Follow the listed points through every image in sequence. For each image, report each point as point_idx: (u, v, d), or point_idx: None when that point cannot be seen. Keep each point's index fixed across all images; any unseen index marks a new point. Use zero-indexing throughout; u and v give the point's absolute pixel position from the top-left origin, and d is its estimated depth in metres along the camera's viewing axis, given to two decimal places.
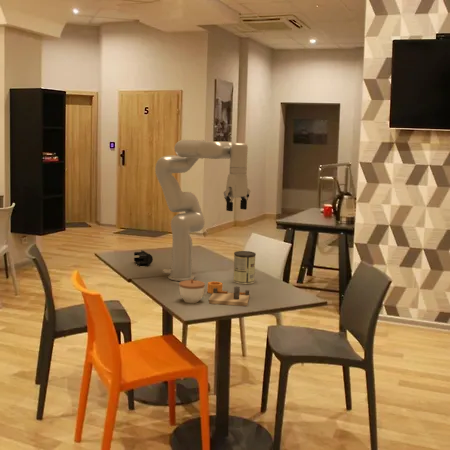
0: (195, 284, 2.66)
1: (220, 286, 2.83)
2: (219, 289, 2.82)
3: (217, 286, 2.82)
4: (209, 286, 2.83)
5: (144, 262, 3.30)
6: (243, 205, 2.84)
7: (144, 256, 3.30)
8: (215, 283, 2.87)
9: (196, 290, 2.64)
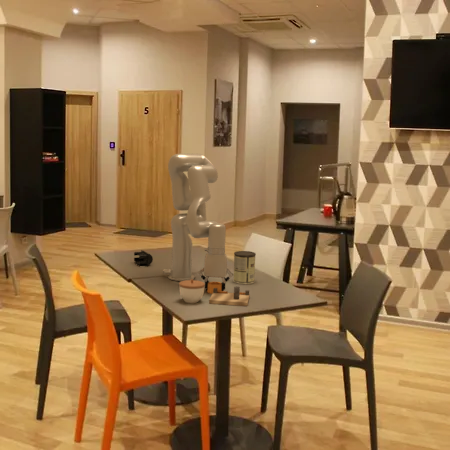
0: (195, 284, 2.66)
1: (220, 286, 2.83)
2: (219, 289, 2.82)
3: (217, 286, 2.82)
4: (209, 286, 2.83)
5: (144, 262, 3.30)
6: None
7: (144, 256, 3.30)
8: (215, 283, 2.87)
9: (196, 290, 2.64)
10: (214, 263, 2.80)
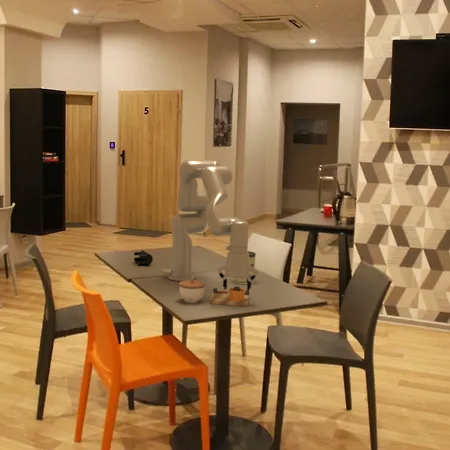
0: (195, 284, 2.66)
1: (242, 292, 2.67)
2: (241, 296, 2.67)
3: (239, 292, 2.66)
4: (231, 292, 2.68)
5: (144, 262, 3.30)
6: (226, 284, 2.70)
7: (144, 256, 3.30)
8: None
9: (196, 290, 2.64)
10: (236, 262, 2.65)
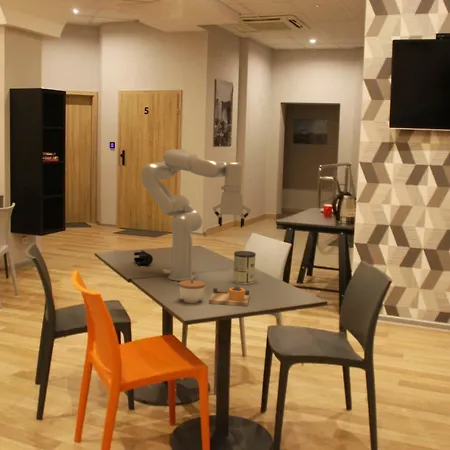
0: (195, 284, 2.66)
1: (242, 292, 2.67)
2: (241, 296, 2.67)
3: (239, 292, 2.66)
4: (231, 292, 2.68)
5: (144, 262, 3.30)
6: (221, 222, 2.92)
7: (144, 256, 3.30)
8: None
9: (196, 290, 2.64)
10: (231, 200, 2.87)
